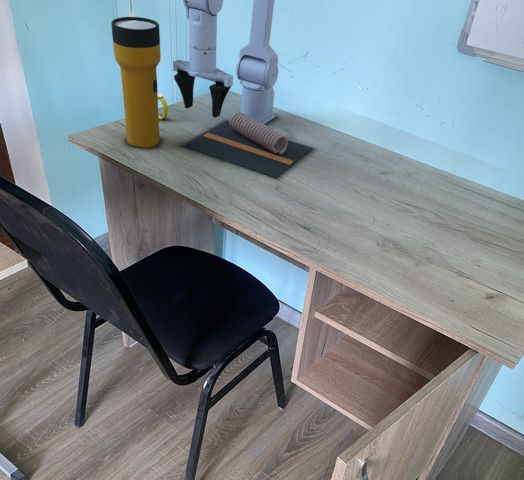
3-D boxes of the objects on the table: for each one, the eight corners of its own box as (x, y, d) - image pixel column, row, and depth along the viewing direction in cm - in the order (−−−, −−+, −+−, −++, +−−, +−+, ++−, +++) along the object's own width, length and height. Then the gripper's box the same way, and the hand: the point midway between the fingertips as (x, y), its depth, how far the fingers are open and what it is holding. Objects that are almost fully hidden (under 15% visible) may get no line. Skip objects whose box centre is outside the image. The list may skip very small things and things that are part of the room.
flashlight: (121, 12, 117) (165, 19, 116) (131, 130, 135) (169, 136, 134) (103, 23, 110) (149, 30, 109) (116, 145, 128) (156, 153, 127)
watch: (146, 115, 142) (145, 92, 138) (154, 112, 144) (153, 89, 140) (163, 122, 140) (162, 99, 136) (170, 119, 142) (169, 96, 138)
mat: (226, 121, 144) (226, 120, 144) (312, 149, 136) (312, 148, 136) (183, 146, 131) (183, 145, 131) (275, 178, 123) (276, 177, 123)
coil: (290, 135, 130) (243, 110, 139) (277, 137, 127) (229, 111, 136) (287, 154, 133) (240, 128, 142) (273, 156, 130) (227, 129, 139)
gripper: (163, 41, 112) (166, 108, 122) (221, 58, 108) (219, 125, 117) (183, 35, 117) (184, 99, 126) (239, 50, 112) (236, 116, 122)
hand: (202, 111), depth 122 cm, fingers open, 7 cm apart
